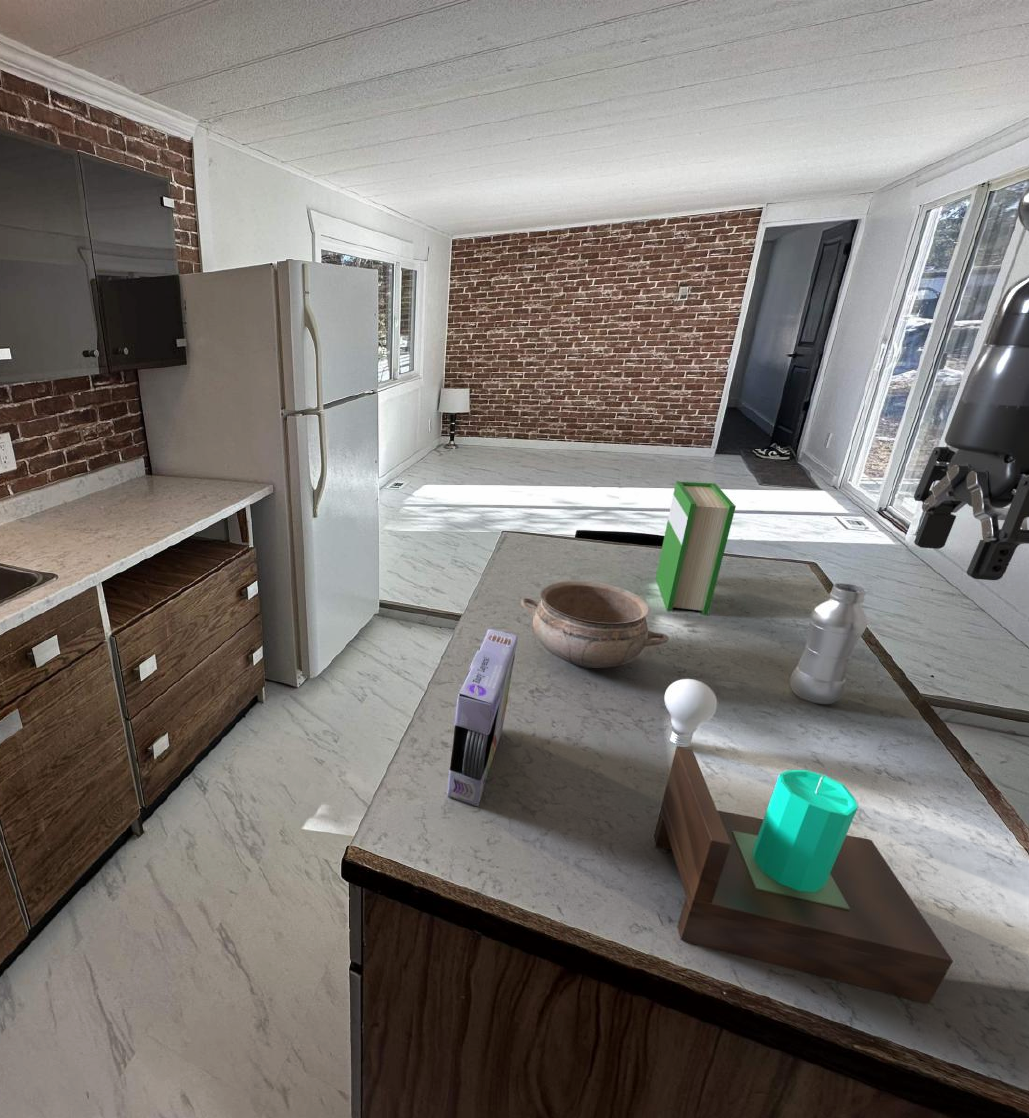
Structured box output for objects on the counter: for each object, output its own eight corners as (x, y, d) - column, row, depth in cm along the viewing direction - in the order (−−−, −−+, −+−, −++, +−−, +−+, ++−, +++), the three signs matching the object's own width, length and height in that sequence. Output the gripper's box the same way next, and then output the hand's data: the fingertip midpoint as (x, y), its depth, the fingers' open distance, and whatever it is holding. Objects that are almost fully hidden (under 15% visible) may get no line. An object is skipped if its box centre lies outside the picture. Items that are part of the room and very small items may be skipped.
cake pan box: (479, 815, 78) (492, 703, 72) (442, 802, 81) (450, 693, 74) (506, 730, 94) (519, 632, 87) (474, 721, 96) (483, 625, 89)
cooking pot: (497, 658, 113) (503, 600, 108) (534, 620, 126) (541, 567, 121) (645, 707, 97) (660, 642, 93) (670, 658, 110) (684, 599, 106)
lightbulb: (652, 726, 93) (667, 666, 89) (701, 737, 90) (718, 675, 86) (656, 752, 88) (671, 689, 84) (707, 763, 85) (725, 699, 81)
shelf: (854, 878, 67) (896, 782, 62) (929, 1004, 55) (990, 898, 50) (653, 836, 74) (676, 746, 69) (680, 940, 62) (711, 840, 57)
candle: (762, 881, 61) (795, 791, 56) (744, 837, 66) (774, 750, 61) (836, 899, 59) (876, 807, 54) (811, 852, 64) (847, 763, 59)
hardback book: (707, 615, 125) (735, 506, 116) (667, 610, 128) (691, 503, 119) (691, 582, 140) (715, 483, 131) (655, 578, 142) (676, 481, 133)
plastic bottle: (842, 714, 94) (885, 600, 86) (787, 701, 97) (824, 591, 90) (835, 693, 99) (875, 584, 91) (783, 682, 102) (818, 576, 95)
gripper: (1153, 409, 47) (1060, 595, 53) (1018, 388, 59) (956, 540, 65) (1024, 409, 49) (949, 586, 55) (921, 388, 61) (869, 535, 67)
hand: (953, 561), depth 60 cm, fingers open, 8 cm apart
